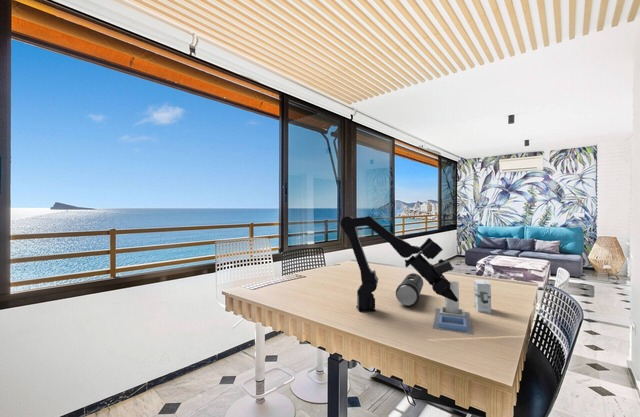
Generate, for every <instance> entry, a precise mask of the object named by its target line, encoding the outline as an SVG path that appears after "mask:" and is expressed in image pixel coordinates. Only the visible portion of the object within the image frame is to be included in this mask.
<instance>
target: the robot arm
mask: <svg viewBox="0 0 640 417" xmlns="http://www.w3.org/2000/svg"><path fill="white" fill-rule="evenodd" d="M364 226H366V227H368V228H370V229H371V230H372V231H373V232H374V233H376V234H377V235H378V236H380V237H381V238H382V239H383V240H385V241H386V242H387V243H389V245H391V247H392V248H393V249H394V251H396V253H398V255H399V256H400V257H402V258H404V259H405V260H404V262H405V265H404V266H405V268H408V267H409V266H411V267H412V268H413V269H415V271H416V272H417V273H419V274H418V275H419V276H421V278H424V279H425V281H426V282H428V284H429V285H430V286H431V287H432V288H431V289H432V291H433V292H434V293H435V294H436V295H438V296H441V297H443V298H445V297H446V298H448V299H450V300H453V301H455V302H457V301H458V299H457V297H456V296H455V295H454V293H453V292H452V290H451V289H450V285H451V284H450V282H449V281H450V280H448V279H447V278H446V276H445V275H444V273H447V272H450V271H453V270H454V268H453V265H452V264H451V262H450V261H449V260H443V259H442V258H440V259H439V260H438V261H437V264H435V265H433V264H432V263H430V262H429V261H428V260H434V259H435V258H436V257H437V256H438V255H439V254H440V253H441V252H443V250H444V249H443V248H442V247H441V246H440V245H439V244H438V243H436V242H435V241H433V240H432V238H430V237H428V238H426V240H425V242H423V243H422V244H421V245H420V246H417V245H411V243H409V242H408V241H406V240H404V239H402V238H400V237H398V236H396V235H395V234H393V233H392V232H391V231H389V230H388V229H386V227H384V226H383V225H382V224H381V223H379V222H378V221H377V220H375V219H374V218H373V217H372V216H370V215H367V216H364V217H363V216H362V217H361V216H360V217H353V216H349V215H348V216H344V217H343V218H342V219H341V221H340V227H341V229H342V230H343V232H344V233H345V235H346V237H347V238H348V240H349V242H350V246H351V248H352V251H353V254H354V257H355V260H356V262H357V264H358V268H359V271H360V280H361V285H360V286H359V287H358V289H357V291H356V296H357V298H356V303H357V305H356V309H357V310H358V312H375V311H376V298H375V295H374V293H373V292H375V291H376V290H377V287H378V283H379V277H378V276H377V272H376V270H375V269H374V270H372V269H371V268H370V265H369V262H368V259H367V257H366V254H365V252H364V248H363V245H362V243H361V241H360V237H359V232H358V228H359V227H364ZM406 258H407V259H406Z"/></svg>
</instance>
